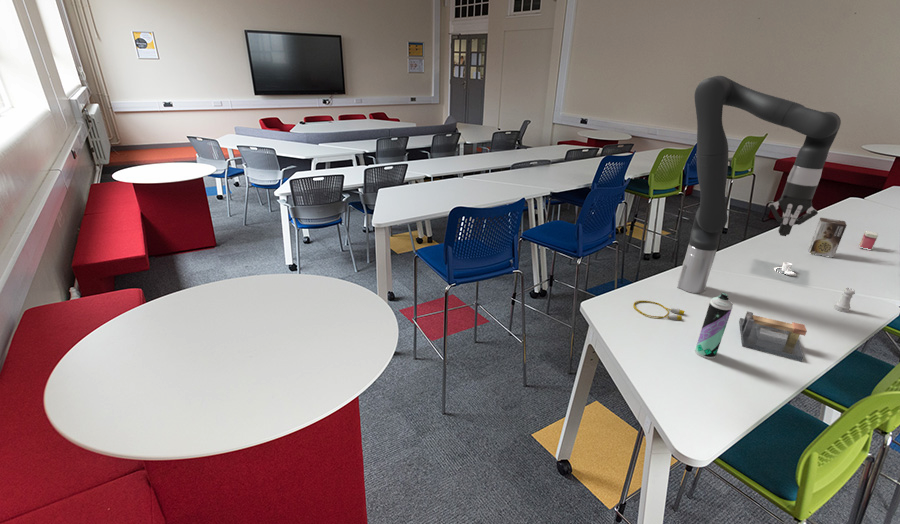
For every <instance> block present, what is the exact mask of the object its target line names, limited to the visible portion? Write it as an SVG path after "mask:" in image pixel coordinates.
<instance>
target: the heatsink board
mask: <svg viewBox="0 0 900 524" xmlns="http://www.w3.org/2000/svg"><path fill="white" fill-rule="evenodd" d="M748 313H751V314H752V315H754V312H752V311H746V313H745V316H744V318H742V317H741V318H739V320H738V325H739V334H740V339H741V340H740V341H741V347H743V348H748V349H752V350H756V351H761V352H762V353H763V352H764V353H768V354H771V355H773V356H774V355H775V356H779V357H784V358H787V359H791V360H795V361H798V362H803V359H804V354H803V351H802V348H801V345H800V342H799V337H800V336H801V335H800V334H795V333H793V332H790V331H786V330H782V329H777V328H773V327H769V326H765V325H760V324H756V323H754V320H753V319H748V320H747V318H746V315H747V314H748Z"/></svg>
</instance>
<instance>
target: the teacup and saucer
mask: <svg viewBox="0 0 900 524" xmlns="http://www.w3.org/2000/svg"><path fill="white" fill-rule="evenodd" d="M792 266H793V263H791V262H788V261H784V262H783V263H782V265H781V266H780V267H779V266H777V267H773V270H774V271H775V272H776V269H777V268H782V269H781V271H779V270H778V269H777V272H776V273H778V271H779V274H781V273H780V272H782V273H784V274H786V275H785V276H790V277H791V276H796V275H795V273H794V272H792V271H790V270H792V269H791V268H792Z"/></svg>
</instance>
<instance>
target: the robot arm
mask: <svg viewBox="0 0 900 524" xmlns="http://www.w3.org/2000/svg"><path fill="white" fill-rule="evenodd" d="M694 105H695V113H696V123H697V124H696V125H697V128H696V130H697V131H696V172H697V173H696V174H697V180H698V185H699V191H700V200H699V201H700V202H699V207H698V208H697V210H696V212H695V214H694V219H693V222H692V223H693V224H692V226H691V227H692V228H691V231H690V236H689V237H690V238H689V242H688V246H687V250H686V253H685V257H684V260H683V262H682V266H681V270H680V273H679V277H678V281H677V288H678V289H680V290H683V291H685V292H689V293H691V294H702V293H704V292H705V290H706V287H707V283H708V280H709V277H710V273H711V271H712V268H713V263H714V261H715V258H716V254H717V252H718V251H717V250H718V248H719V243H720V235H721V232H722V230H723V229H724V228H725V226H726V225H727V224H728V217H729V216H728V209H727V203H726V201H727V200H726V199H727V198H726V188H727V178H728V171H729V170H728V169H729V144H728V139H727V135H726V132H725V129H724V124H723V108H724V106H727V107H728V106H729V107H732V108H733V107H734V108H737V109H740V110H743V111H745V112H747V113H750V114H751V115H753V116H755V117H756V118H759V119H760V120H763V121H765V122H767V123H771V124H774V125H776V126H781V127H784V128H786V129H787V128H788V129H791V130H793V131H795V132H797V133H799V134H801V135H804V136H805V139H804V142H803V144H802V146H801V147H800V149H799V151H798V152H797V155H796V157H795V161H794V164H793V166H792V167H791V169H790V172H789V174H788V176H787V180H786V183H785V185H784V188H783V191H782V194H781V196H780V197H779V198H778V199H777V201H775V202H770V203H768V207H769V209H770V211H771V213H772V215H773V217H774V218H775V220H776V221H777V222H779V223H780V225H779V228H778V230H777V231H778V234H779V236H781V237H787V236H789V235H790V233H791V232H792V228H793V226H795V225H797V226H800V225H802V224H804V223H805V222H806V221H808V220H810V219H812V218H813V217H815V216H817V215H818V213H819V211H817V209H815V208H814V207H813V202H812V201H813V198H814V195H815V193H816V190H817V189H818V186H819V182H820V180H821V177H822V172H823V169H824V167H825V164H826V161H827V159H828V155H829V151H830V149H831V147H832V145H833V143H834V141H835V139H836V137H837V134H838V132H839V130H840V127H841V124H842V123H841V121H842V120H841V117H840V116H839V114H837V113H835V112H834V111H833V112H832V111H825V112H824V111H820V110H816V109H813V108H809V107H806V106H804V105H803V104H802V103H799V102H795V101H793V100H792V101H791V100H789V99H785V98H781V97H777V96H774V95H771V94H766V93H764V92H761V91H757V90H755V89H751V88H749V87H746V85H745V86H744V85H742V84H740V83H738V82H737V81H735V80H732V79H731V78H729V77H727V76H724V75H715V76H711V77H708V78H705V79H703V80H702V81H701V82H699V84H697V87H696V88H695V91H694ZM779 206H780V209H781V210H782V217H781V216H780V214H779V212H778V209H779ZM804 212H806V213H805V214H803V213H804ZM801 214H803V215H801ZM799 215H801V216H800V217H799Z"/></svg>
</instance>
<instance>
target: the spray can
mask: <svg viewBox="0 0 900 524" xmlns="http://www.w3.org/2000/svg"><path fill="white" fill-rule="evenodd" d="M733 305H734V303H733V302H732V301H731V300H730V299H729V295H728V293H726V292H721V293H720V295H717V296H714V297H712V298H711V300H710V301H709V304H708V308H707V311H706V314H705V317H704V320H703V324H702V327H701V330H700V333H699V336H698V339H697V341H696V342H697V343H696V346H695V348H694V352H695V353H696V355H698V356H699V357H701V358H704V359H707V360H713V359H715V358H716V356H717V353H718V351H719V348H720V345H721V342H722V339H723V336H724V333H725V330H726V327H727V324H728V321H729V319H730V316H731V313H732V311H733V310H732V309H733Z"/></svg>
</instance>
